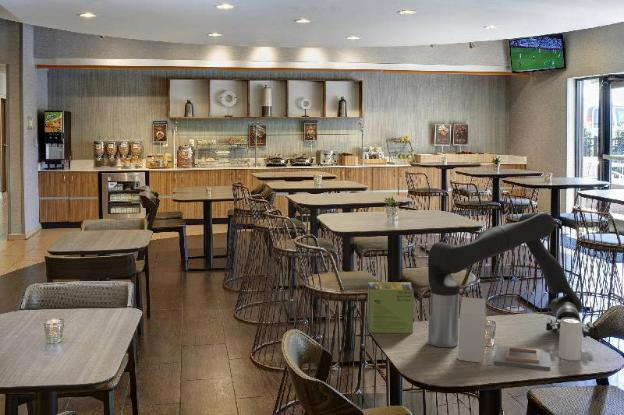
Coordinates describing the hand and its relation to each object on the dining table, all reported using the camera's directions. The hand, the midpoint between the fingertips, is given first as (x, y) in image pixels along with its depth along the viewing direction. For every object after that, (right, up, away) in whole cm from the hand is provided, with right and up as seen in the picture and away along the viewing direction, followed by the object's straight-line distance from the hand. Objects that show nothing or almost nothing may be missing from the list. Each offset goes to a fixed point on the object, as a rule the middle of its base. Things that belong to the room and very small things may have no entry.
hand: (570, 333), depth 217 cm
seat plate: (-16, -7, -4) cm, 18 cm away
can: (-1, -7, -3) cm, 8 cm away
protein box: (-54, -3, +26) cm, 60 cm away
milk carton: (-32, -7, -3) cm, 33 cm away
